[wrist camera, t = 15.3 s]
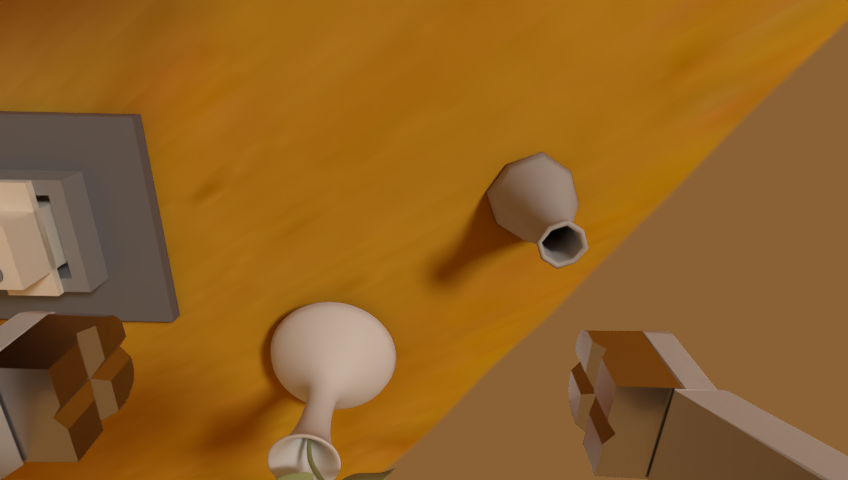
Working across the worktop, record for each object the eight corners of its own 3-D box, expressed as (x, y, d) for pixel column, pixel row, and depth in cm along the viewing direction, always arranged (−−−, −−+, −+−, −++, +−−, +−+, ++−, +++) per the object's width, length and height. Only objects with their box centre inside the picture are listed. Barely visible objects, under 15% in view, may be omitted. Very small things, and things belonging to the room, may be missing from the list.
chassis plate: (-95, 109, 39) (-145, 117, 35) (140, 114, 39) (112, 122, 35) (-19, 311, 46) (-55, 334, 42) (179, 314, 46) (159, 338, 42)
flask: (520, 252, 43) (546, 313, 34) (470, 189, 41) (484, 237, 32) (592, 203, 42) (640, 253, 32) (544, 135, 39) (581, 168, 30)
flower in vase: (285, 395, 49) (163, 717, 26) (266, 294, 45) (100, 575, 22) (417, 391, 49) (410, 712, 26) (411, 289, 45) (397, 567, 22)
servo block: (1, 170, 39) (-74, 196, 33) (53, 171, 39) (-13, 197, 33) (35, 277, 43) (-27, 317, 37) (82, 278, 43) (28, 318, 37)
